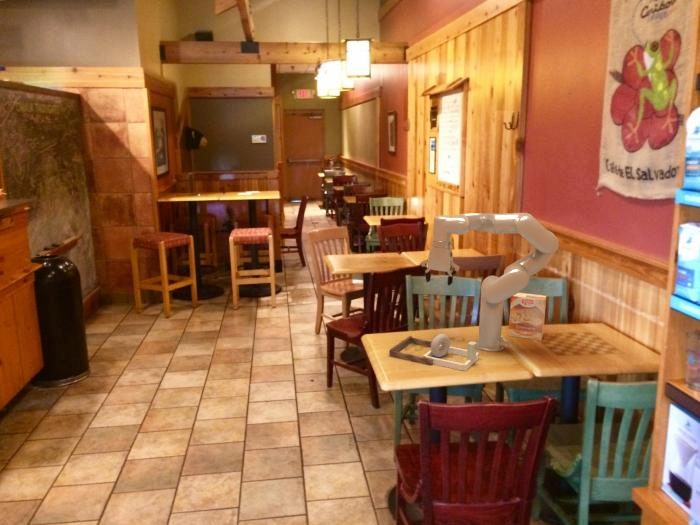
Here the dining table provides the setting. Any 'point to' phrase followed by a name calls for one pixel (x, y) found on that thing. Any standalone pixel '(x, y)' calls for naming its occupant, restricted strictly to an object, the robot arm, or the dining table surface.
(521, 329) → the coffeecake box
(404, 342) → the brown piece
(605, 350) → the dining table surface
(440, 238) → the robot arm
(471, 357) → the white open rectangular frame
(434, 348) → the grey wheel
